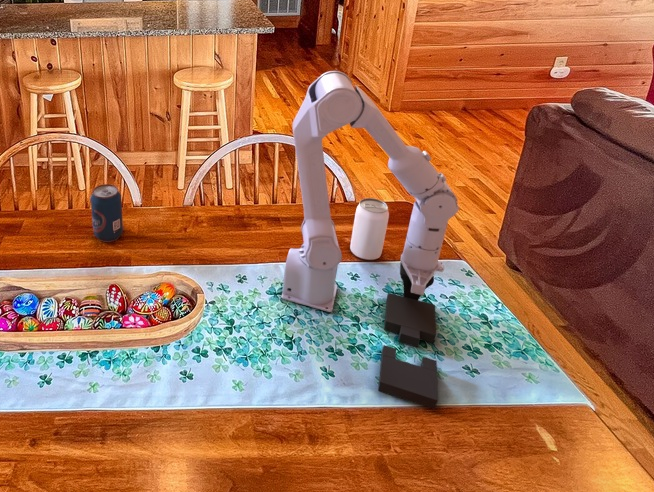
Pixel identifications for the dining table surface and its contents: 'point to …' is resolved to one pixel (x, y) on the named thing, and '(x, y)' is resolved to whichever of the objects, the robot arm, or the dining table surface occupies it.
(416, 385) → the notch pad
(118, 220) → the soda can
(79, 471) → the dining table surface
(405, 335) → the tab pad
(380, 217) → the can
